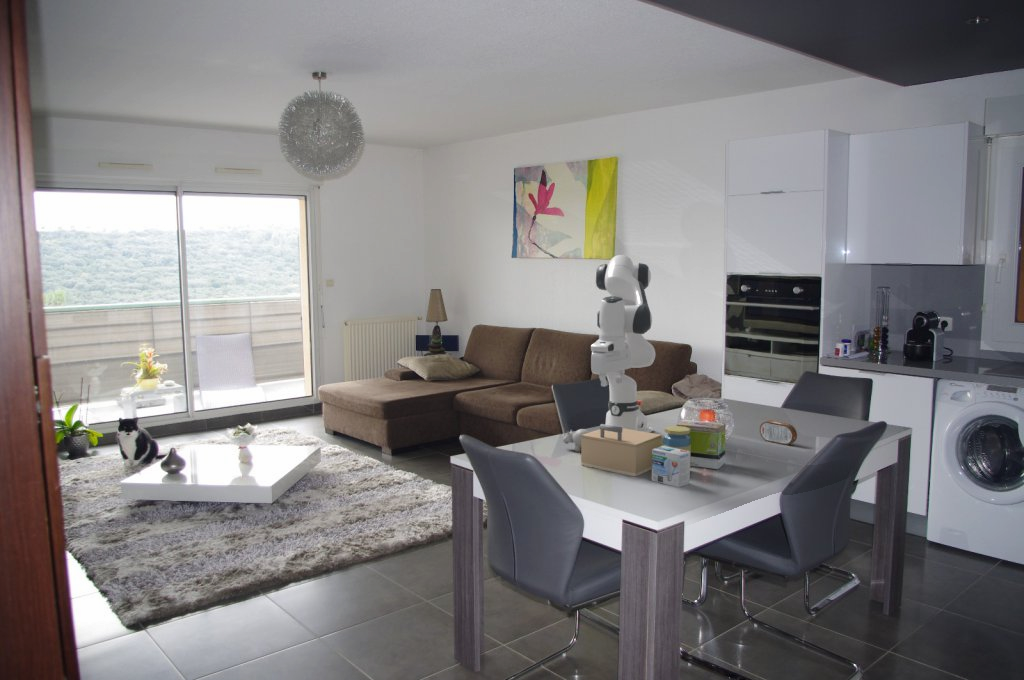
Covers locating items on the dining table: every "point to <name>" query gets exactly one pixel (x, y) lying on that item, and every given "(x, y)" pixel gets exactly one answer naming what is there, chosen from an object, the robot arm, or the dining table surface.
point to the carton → (618, 456)
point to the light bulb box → (671, 466)
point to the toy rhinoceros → (575, 438)
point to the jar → (678, 438)
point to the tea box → (706, 443)
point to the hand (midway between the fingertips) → (611, 384)
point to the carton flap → (621, 435)
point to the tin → (778, 432)
